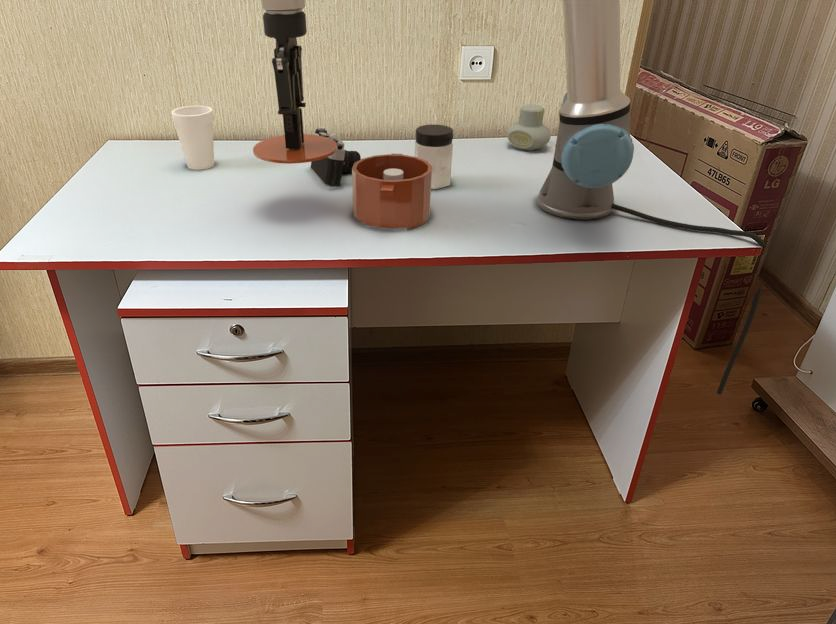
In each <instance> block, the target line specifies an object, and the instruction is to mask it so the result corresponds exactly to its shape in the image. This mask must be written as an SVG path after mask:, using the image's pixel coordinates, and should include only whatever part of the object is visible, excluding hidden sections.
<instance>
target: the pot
mask: <svg viewBox="0 0 836 624" xmlns="http://www.w3.org/2000/svg"><path fill="white" fill-rule="evenodd" d="M386 169H400V170H402V171H403V180H384V179H383V172H384V171H385V170H386ZM431 180H432V166H431V165H430V164H429V163H428V162H427V161H425V160H423V159H420V158H418V157H415V156H412V155H408V154H403V153H387V154H379V155H378V154H377V155H372V156H367V157H363V158H361V160H359V161H357V162H356V163H354V165H353V167H352V173H351V182H352V183H351V185H352V187H351V188H352V214H353V215H354V217H355V219H356V220H357V221H359V222H360V223H362V224H364V225H367V226H371V227H375V228H380V229H403V228H406V230H411V229H414V228H415V229H416V228H417V227H420V226H422V225H424V224H425V223H427V222H428V221H429V218H430V214H431V201H432V200H431V198H432V197H431V196H432V189H431Z"/></svg>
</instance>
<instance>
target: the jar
mask: <svg viewBox="0 0 836 624" xmlns="http://www.w3.org/2000/svg"><path fill="white" fill-rule="evenodd" d="M453 139H454V129H453V128H452V127H450V126H448V125H443V124H423V125H419V126H417V128H416V129H415V139H414V157H418V158H420V159H423V160H425V161H427V162H428V163H429V164H430V165H431V166H432V180H431V190H438V189H443V188H445V187H449V186H451V180H452V164H453V151H454V150H453V149H454V144H453Z"/></svg>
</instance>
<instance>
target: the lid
mask: <svg viewBox="0 0 836 624" xmlns="http://www.w3.org/2000/svg"><path fill="white" fill-rule="evenodd" d="M295 106H296V105H295ZM296 113H298V125H299V137H300V149H287V148H286V144H285V134H283V135H277V136H273V137H269V138H266V139H263V140H261V141H259V142H257V143H256V144H255V145H254V146H253V148H252V153H253V155H254V157H256V158H257V159H259V160H261V161H265V162H268V163H273V164H285V165H286V164H287V165H289V164H291V165H292V164H305V163H306V164H307V163H311V162H312V161H317V160H321V159H324V158H327V157H329V156H331V155H333V154H334V153H335V152H336V151H337V143H336V142H335V141H334V140H332V139H330V138H327V137H324V136H319V135H315V134H309V133H303V134H304V143H302V135H301V122H300V109H299V106H296Z"/></svg>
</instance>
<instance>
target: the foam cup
mask: <svg viewBox="0 0 836 624" xmlns="http://www.w3.org/2000/svg"><path fill="white" fill-rule="evenodd" d="M170 113H171V117H172V123H173V125H174V129H175V131H176V134H177V137H178V141H179V143H180V146H181V149H182V153H183V156H184V160H185V163H186V165H187V168H189V169H190V170H193V171H195V170H196V171H197V170H199V171H201V170H207V169H210V168H213V167H214V166H215V162H214V161H215V148H214V146H215V145H214V121H215V118H214V111H213V108H212V107H211V106H206V105H185V106H180V107H177V108H174V109H173V110H171V112H170Z"/></svg>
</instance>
